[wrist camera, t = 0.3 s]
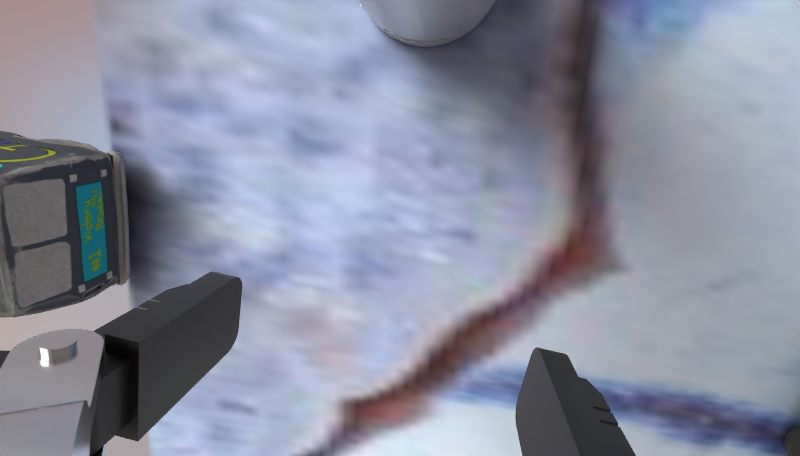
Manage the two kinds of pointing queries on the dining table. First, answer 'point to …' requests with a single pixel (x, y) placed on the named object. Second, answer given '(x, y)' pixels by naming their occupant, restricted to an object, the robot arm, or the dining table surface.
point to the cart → (792, 442)
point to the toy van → (59, 223)
